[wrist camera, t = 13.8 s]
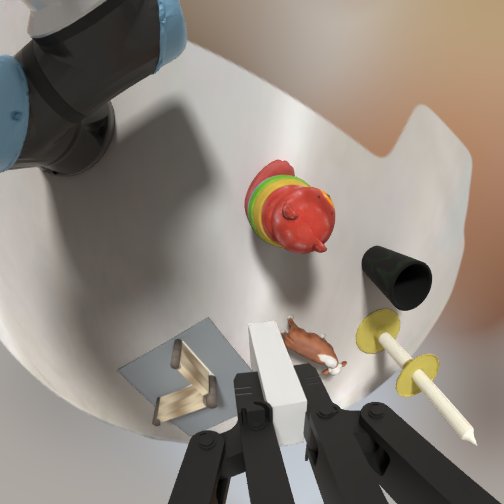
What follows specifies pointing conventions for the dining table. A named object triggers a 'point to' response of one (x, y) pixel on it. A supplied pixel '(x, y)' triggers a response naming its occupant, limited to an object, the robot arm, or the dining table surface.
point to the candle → (410, 367)
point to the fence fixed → (194, 372)
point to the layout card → (171, 380)
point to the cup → (398, 276)
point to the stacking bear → (289, 210)
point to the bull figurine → (312, 347)
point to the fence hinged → (178, 404)
